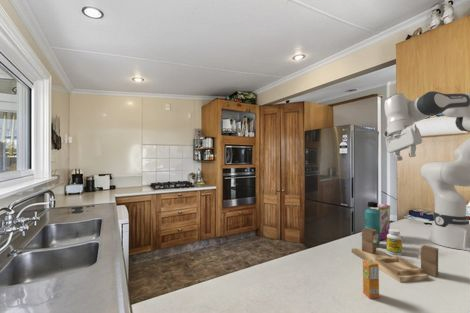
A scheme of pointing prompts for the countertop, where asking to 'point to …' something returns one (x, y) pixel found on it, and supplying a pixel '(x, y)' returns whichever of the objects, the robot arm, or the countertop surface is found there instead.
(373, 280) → the supplement box
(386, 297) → the countertop surface
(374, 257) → the wooden tray stand
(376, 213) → the beverage bottle
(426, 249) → the brown block
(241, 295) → the countertop surface
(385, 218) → the candy bar box
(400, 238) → the supplement bottle
